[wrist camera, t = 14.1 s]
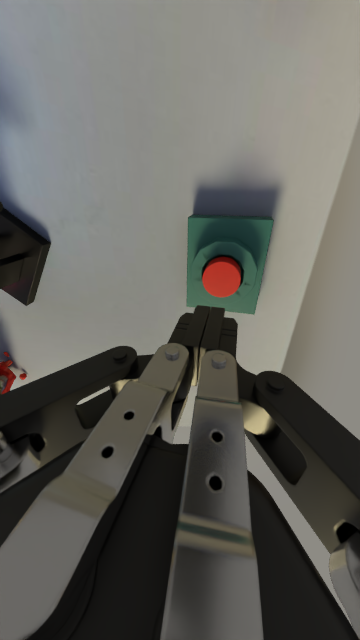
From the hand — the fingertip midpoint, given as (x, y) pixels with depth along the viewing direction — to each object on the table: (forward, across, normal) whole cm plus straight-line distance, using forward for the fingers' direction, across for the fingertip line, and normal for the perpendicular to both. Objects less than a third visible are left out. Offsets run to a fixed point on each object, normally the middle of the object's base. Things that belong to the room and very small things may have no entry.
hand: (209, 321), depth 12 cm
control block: (+15, 0, +2) cm, 15 cm away
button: (+12, 0, +2) cm, 12 cm away
